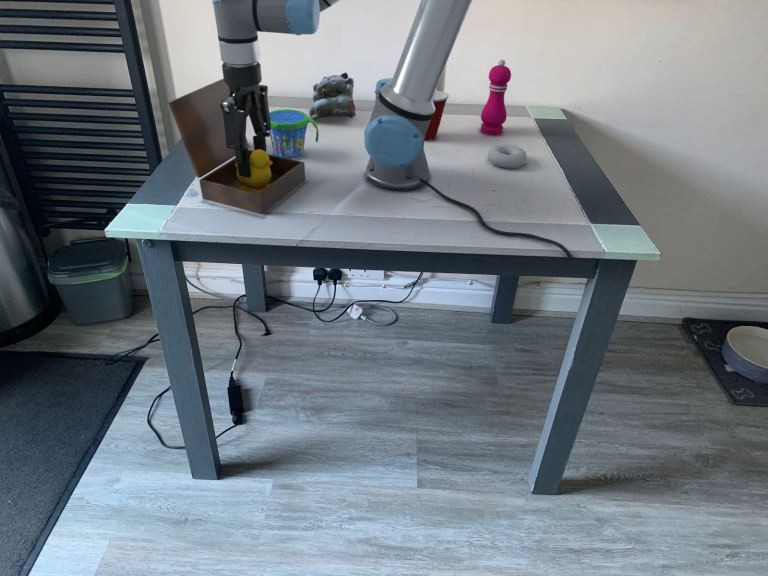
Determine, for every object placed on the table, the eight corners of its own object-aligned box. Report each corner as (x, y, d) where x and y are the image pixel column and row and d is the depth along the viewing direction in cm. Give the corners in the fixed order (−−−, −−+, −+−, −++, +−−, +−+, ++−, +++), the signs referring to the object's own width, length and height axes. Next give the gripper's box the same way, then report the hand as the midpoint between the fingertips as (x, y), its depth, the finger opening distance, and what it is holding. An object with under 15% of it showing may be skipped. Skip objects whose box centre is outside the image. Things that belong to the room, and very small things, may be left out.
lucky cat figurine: (300, 120, 164) (298, 71, 162) (324, 125, 174) (323, 78, 172) (342, 115, 156) (340, 63, 154) (365, 120, 166) (364, 72, 164)
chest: (305, 182, 132) (304, 161, 129) (262, 217, 119) (259, 195, 115) (250, 169, 137) (248, 149, 134) (203, 201, 123) (199, 179, 120)
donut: (530, 160, 147) (494, 151, 150) (533, 148, 145) (497, 138, 148) (518, 174, 140) (481, 164, 143) (520, 161, 138) (483, 151, 141)
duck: (231, 190, 126) (225, 149, 121) (246, 179, 131) (241, 139, 125) (266, 198, 124) (262, 157, 118) (280, 187, 128) (277, 147, 122)
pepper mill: (509, 133, 161) (521, 61, 149) (490, 138, 158) (501, 64, 146) (491, 125, 166) (502, 54, 154) (473, 129, 162) (483, 58, 150)
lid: (226, 77, 125) (209, 80, 127) (170, 101, 111) (152, 104, 114) (249, 147, 133) (233, 148, 135) (200, 177, 120) (182, 178, 122)
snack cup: (320, 146, 149) (318, 109, 143) (318, 163, 141) (316, 124, 135) (261, 146, 148) (257, 108, 142) (255, 163, 140) (251, 123, 134)
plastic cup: (435, 127, 162) (439, 85, 155) (450, 141, 154) (455, 98, 147) (400, 130, 160) (403, 88, 152) (414, 145, 151) (417, 101, 144)
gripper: (252, 48, 119) (262, 151, 133) (194, 71, 105) (213, 183, 119) (282, 53, 116) (290, 157, 130) (227, 77, 102) (243, 191, 116)
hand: (253, 169), depth 124 cm, fingers closed on duck, 6 cm apart
